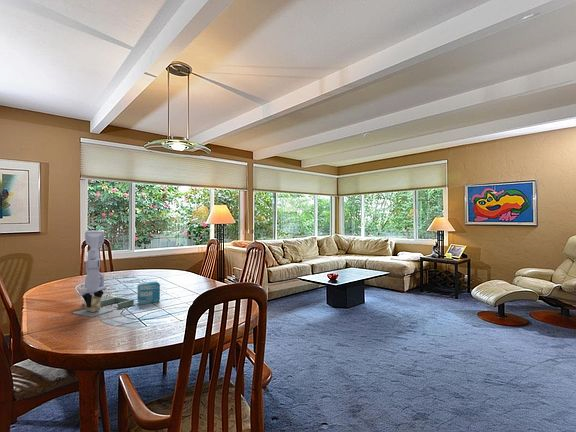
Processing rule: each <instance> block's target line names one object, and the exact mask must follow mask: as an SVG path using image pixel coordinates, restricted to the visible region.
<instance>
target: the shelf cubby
mask: <svg viewBox="0 0 576 432" xmlns="http://www.w3.org/2000/svg"><path fill="white" fill-rule="evenodd" d="M134 301H135V300H134V299H133V298H125V297H120V296H115V297H110V298H107V299H101V303H100V307H104V306H107V305H111V304H114V303H117V307H116V308H117V310H120V309H123V308H127V307H129V306H133V305H135V304H134Z"/></svg>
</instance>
